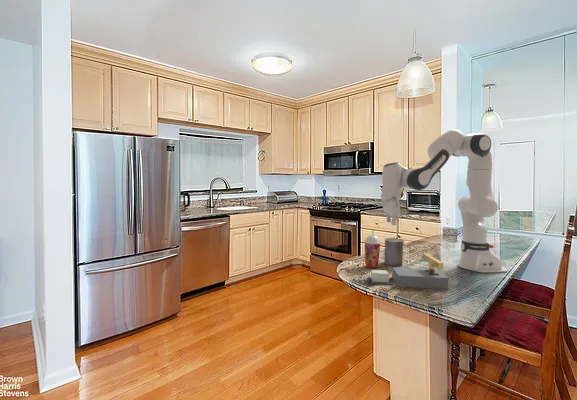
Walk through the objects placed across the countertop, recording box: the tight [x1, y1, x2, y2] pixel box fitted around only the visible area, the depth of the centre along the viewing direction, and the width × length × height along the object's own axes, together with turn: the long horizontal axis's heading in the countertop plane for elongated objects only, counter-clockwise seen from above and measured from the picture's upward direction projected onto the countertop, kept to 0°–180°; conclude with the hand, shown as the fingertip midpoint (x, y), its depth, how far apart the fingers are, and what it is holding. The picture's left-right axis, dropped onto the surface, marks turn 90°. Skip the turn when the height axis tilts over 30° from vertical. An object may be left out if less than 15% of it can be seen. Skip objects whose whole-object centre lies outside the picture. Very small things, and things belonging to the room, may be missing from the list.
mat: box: [367, 276, 392, 286], centre depth 140 cm, size 9×9×1 cm
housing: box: [391, 266, 450, 290], centre depth 138 cm, size 21×12×6 cm, turn 84°
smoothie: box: [364, 229, 382, 269], centre depth 161 cm, size 8×8×20 cm
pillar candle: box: [383, 236, 404, 267], centre depth 168 cm, size 10×10×15 cm
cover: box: [370, 269, 390, 283], centre depth 140 cm, size 7×5×4 cm
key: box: [422, 253, 444, 273], centre depth 137 cm, size 16×2×7 cm, turn 179°
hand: (391, 223), depth 150 cm, fingers open, 8 cm apart
